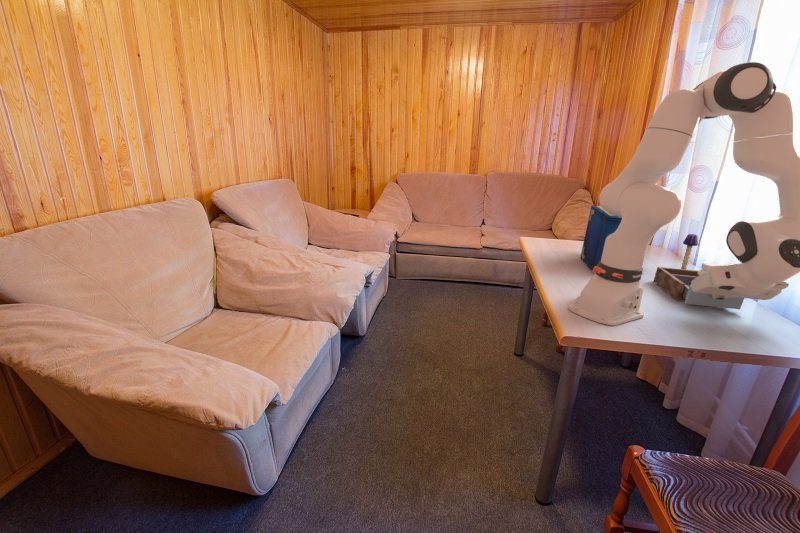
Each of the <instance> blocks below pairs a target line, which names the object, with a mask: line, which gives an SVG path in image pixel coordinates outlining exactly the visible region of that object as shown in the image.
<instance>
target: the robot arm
mask: <svg viewBox="0 0 800 533" xmlns="http://www.w3.org/2000/svg"><path fill="white" fill-rule="evenodd" d="M794 110H795V109H794V103H793V99H792V96H791V95H790V94H789V93H787V92H786V91H785V92H784V91H780V90H777V85H776V84H775V82H774V79H773V75H772V73H771V71H770V69H769V68H768V67H767V66H766V65H764V64H763V63H760V62H757V61H755V62H753V61H749V62H742V63H739V64H735V65H732V66H731V67H729V68H727V69H724V70H722V71H719V72H717V73H715V74H713V75H712V76H710V77H709V78H707V79H706V80H704V81H702V82H701V83H699V84H698V85H696V86H695V88H693V89H689V88H688V89H683V88H682V89H678V90H677V89H676V90H674V91H671V92H670V93H668V94H667V95H666V96H665V97H664V98H663V100H662V101H661V103H660V104H659V106H658V107H657V109H656V110H655V112H654V113H653V116H652V117H651V118H650V121H649V123H648V125H647V127H646V129H645V131H644V134H643V136H642V138H641V140H640V141H639V143H638V146H637V148H636V150H635V152H634V155H632V158H631V159H630V160H629V162H628V163H627V165H626V166H625V168H623V170H622V171H621V172H620V173H619V174H618V176H617V177H616V178H615V179H614V180H612V181H610V182H609V183H607V184H606V185H605V186H604V187H602V189H601V191H600V193H599V197H598V202H599V204H600V205H599V206H601V207H602V208H603V209H605V210H606V211H607V212H609V213H610V214H612V215H614V216H617V217H621V218H622V220H621V223H620V225H619V227H618V228H617V230H616V231H615V232H614V233H612V234H610V235H609V236H608V237H607V238H606V240H605V244H604V249H603V253H602V257H601V260H600V261H599V263H598V265H597V266H595V267H594V268H593V271H592V272H593V273H595V274H593V276H592V277H590V279H589V280H588V282H587V283H586V285H585V286H584V288H583V289H582V290H581V291H580V294H579V296H578V297H577V298H576V299H575V300H574V301H573V302H571V303H570V304H569V306H568V310H570V311H571V312H572V313H574V314H576V315H578V316H581V317H582V318H585V319H587V320H590V321H593V322H597V323H599V324H604V325H608V326H618V325H621V324H624V323H628V322H631V321H634V320H638V319H642V318H644V312H642V311H641V303H642V299H643V298H642V297H643V293H644V289H643V287H642V285H641V283H640V281H641V279H642V276H643V269H644V268H643V265H644V260H645V257H646V256H647V251H648V248H649V246H650V243H651V241H652V239H653V238H654V237H655V235H656V234H657V233H658V231H659V230H661V229H662V228H663V227H665V226H666V225H668V224H669V223H672V222H673V221H674V220H675V219H676V218H677V217H678V216H679V213H680V211H681V207H682V200H681V197H680V195H679V194H678V193H677V192H675V191H674V190H672V189H670V188H668V187H666V186H664V185H663V186H662V185H658V184H657V183H658V182H659V180H661V179H662V177H664V176H665V175H667V174H668V173H669V172H672V171H673V170H675V169H676V168H678V166H679V165H680V163H681V161H682V160H683V157H684V155H685V154H686V151H687V149H688V147H689V145H690V143H691V141H692V139H693V137H694V135H695V133H696V130H697V128H698V127H699V126H700V124H701V122H702V121H703V120H705V119H706V120H707V119H708V120H709V119H715V118H719V117H723V116H724V117H725V116H728V118H730V119H731V121H732V124H733V126H734V135H733V145H732V146H733V148H732V154H733V155H732V156H733V161H734V164H735V165H736V166H737V167H738V168H740V169H741V170H743V171H745V172H747V173H748V174H749V173H750V174H753V175H757V176H761V177H765V178H767V179H769V180H771V181H773V183H774V184H775V185H776V187H777V193H778V202H779V203H778V204H779V210H780V212H779V215H778V216H777V217H773V218H772V217H771V218H763V219H762V218H760V219H748V220H741V221H737V222H736V223H735V224H733V225H732V226H731V228H730V229H729V230H728V232H727V235H726V241H725V242H726V245H727V247H728V249H729V251H730V252H731V253H732V254H733V256H734V257H735V259H737V260H738V261H739V262H740V263H733V264H726V265H724V264H723V265H722V264H721V265H722V266H713V267H711V268H710V271H708V272H705V273H703V274H701V275H699V276H698V277H696V278H695V279H694V280H692V282H691V287H692V291H693V292H694V293H701V294H711V295H712V298H713V299H720V300H725V299H727V298H733V297H739V298H744V299H749V300H758V301H768V300H771V299H774V298H776V297H777V296H778V295H779V294H781V293H782V290H785V289H787V288H788V287H789V282H788V283H787V282H786V281H787V280H788V279H790V278H793V277H794V276H795V275H797V274H799V273H800V155H799V152H798V151H797V149H796V145H795V136H794V135H795V112H794Z"/></svg>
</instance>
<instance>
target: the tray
mask: <svg viewBox="0 0 800 533" xmlns="http://www.w3.org/2000/svg"><path fill="white" fill-rule="evenodd" d="M672 275H673V276H674V277H676V278H677V279H679V280H680V281H682V282H683V283H685V287H684V290H683V293H682V297H683V298H684V299H685V301H684V303H685V304H686V305H694V306H704V307H715V308H723V309H733V310H734V309H735V310H741V308H742V305H743V303H744V300H745V298H739V297H733V298H727V299H725V300H720V299H713V298H712V295H711V294H701V293H694V292H693V291H692V287H691V282H692V280H694V279H695V278H696V276H686V275H675V274H672Z"/></svg>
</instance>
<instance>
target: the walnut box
mask: <svg viewBox="0 0 800 533" xmlns="http://www.w3.org/2000/svg"><path fill="white" fill-rule="evenodd" d="M698 271H699V270H698V269H696V270H694V269H681V268H676V267H675V268H674V267H661V266H657V268H656V271H655V275H654V279H653V283H655V284H656V285H657V286H658V287H659V288H660V289H662V290H663V291H664V292H666V293H667V294H668V295H670V297H671V298H673V299H675V300H676V301H683V302H685V299H684V298H683V297H682V293H683V290H684V287H685V283H683V282H682V281H680V280H679V279H677V278H676V277H674V276H673V275H672V274H675V275H686V276H697V273H698Z"/></svg>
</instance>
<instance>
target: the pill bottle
mask: <svg viewBox="0 0 800 533" xmlns="http://www.w3.org/2000/svg"><path fill="white" fill-rule="evenodd" d="M713 266H722V264H719V263H715V262H708V261H704V262H702V264H701V267H700V268H701V269H699V270H697V271H698V273H697V276H696V277H698V276H699V275H701V274H703V273H705V272H708V271H710V268H711V267H713Z"/></svg>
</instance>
